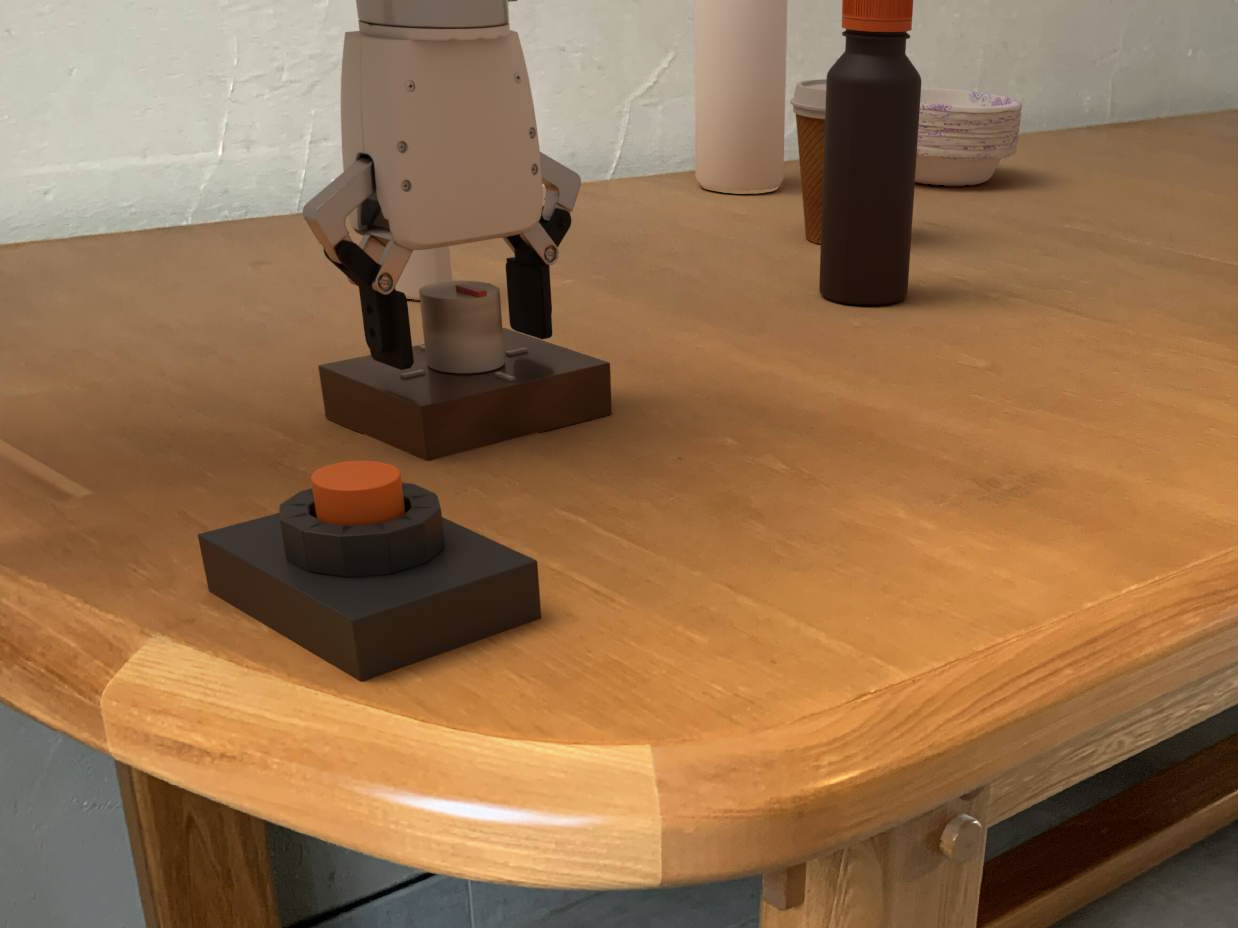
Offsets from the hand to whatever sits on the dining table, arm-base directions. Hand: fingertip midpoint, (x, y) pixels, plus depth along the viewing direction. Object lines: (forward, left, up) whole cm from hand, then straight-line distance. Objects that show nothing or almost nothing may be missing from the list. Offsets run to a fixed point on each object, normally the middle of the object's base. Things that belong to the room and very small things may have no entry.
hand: (464, 348), depth 86 cm
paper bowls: (+85, +34, -4) cm, 92 cm away
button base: (-19, -19, -4) cm, 27 cm away
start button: (-19, -19, 0) cm, 27 cm away
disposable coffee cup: (+54, +20, -4) cm, 58 cm away
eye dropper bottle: (+14, +26, -4) cm, 30 cm away
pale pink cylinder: (+64, +43, -4) cm, 77 cm away
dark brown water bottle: (+40, +5, -4) cm, 41 cm away
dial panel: (0, 0, -4) cm, 4 cm away
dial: (0, 0, -1) cm, 1 cm away
